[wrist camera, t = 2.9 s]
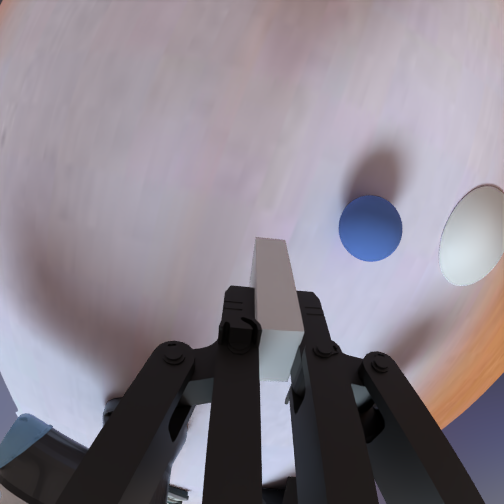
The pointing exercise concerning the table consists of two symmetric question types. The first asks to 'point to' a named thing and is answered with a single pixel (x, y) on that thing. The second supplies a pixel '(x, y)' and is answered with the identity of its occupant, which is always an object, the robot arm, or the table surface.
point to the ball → (370, 228)
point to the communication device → (176, 495)
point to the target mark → (473, 237)
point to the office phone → (281, 494)
